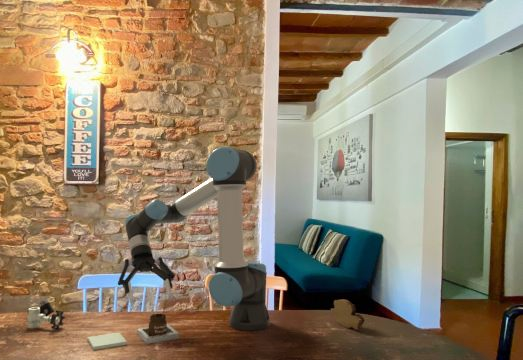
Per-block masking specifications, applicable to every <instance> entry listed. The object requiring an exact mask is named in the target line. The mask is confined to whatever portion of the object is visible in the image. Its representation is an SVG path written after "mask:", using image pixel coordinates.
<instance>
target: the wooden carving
mask: <svg viewBox="0 0 523 360" xmlns="http://www.w3.org/2000/svg"><path fill="white" fill-rule="evenodd" d="M333 306H334V307H333V308H330V311H331V312H332V313H334V314H333V316H332V317H333V318H334V320H335V322H337V323H338V324H339V325H340V326H342V325H343V326H345V327H344V328H346V327H347V328H346V329H349V328H353V329H354V330H356V331H358V330H360V329H362V328H363V324H364V323H365V318H364V317H363V315H361V314H358V313H357V312H356V310H357V308H356V305H355V303H354V304H353V303H352V302H351V301H349V300H348V299H344V298H343V299H335V300H333ZM356 313H357V314H356ZM343 326H342V327H343Z"/></svg>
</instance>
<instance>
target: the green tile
mask: <svg viewBox="0 0 523 360" xmlns="http://www.w3.org/2000/svg"><path fill="white" fill-rule="evenodd" d="M87 342H88V343H89V345H90V347H91V349H92V350H93V351H96V350H102V349H108V348H115V347H120V346H126V345H128V344H127V343H128V341H127V340H126V339H125V337H124V336H123V335H122V333H120V332H119V331H118V332H114V333H113V332H112V333H107V334H106V333H105V334H100V335H92V336H88V337H87Z"/></svg>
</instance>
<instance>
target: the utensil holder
mask: <svg viewBox="0 0 523 360" xmlns="http://www.w3.org/2000/svg"><path fill="white" fill-rule="evenodd" d="M168 301H169V299H168V298H167V299H166V298H164V303H163V305H162V308H163V310H162V313H158V312H157V311H158V310H157V308H156V307H157V306H156V304H151V305H150V306H149V310H150V316H149V321H148V327H149V331H148V334H147V335H148V336H149V337H150V336H157V335H163V334H167V320H166V319H167V316H166V314H165V310H166V309H167V306H168ZM153 307H154V308H155V309H154V308H153ZM153 310H154V311H153ZM152 311H153V312H152Z"/></svg>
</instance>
